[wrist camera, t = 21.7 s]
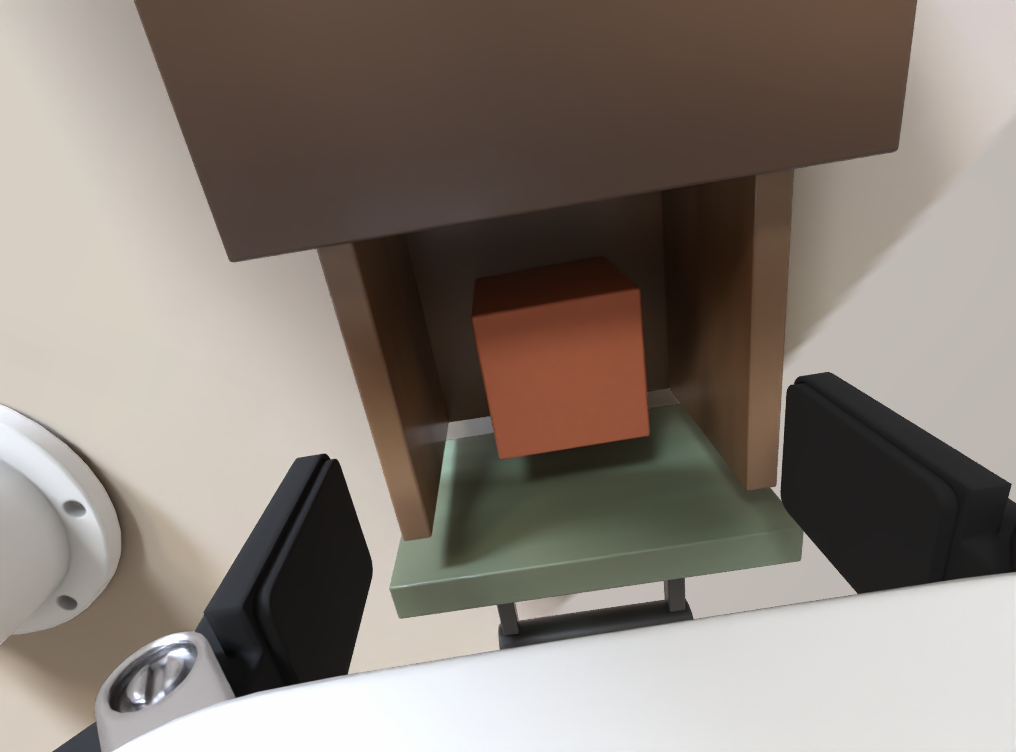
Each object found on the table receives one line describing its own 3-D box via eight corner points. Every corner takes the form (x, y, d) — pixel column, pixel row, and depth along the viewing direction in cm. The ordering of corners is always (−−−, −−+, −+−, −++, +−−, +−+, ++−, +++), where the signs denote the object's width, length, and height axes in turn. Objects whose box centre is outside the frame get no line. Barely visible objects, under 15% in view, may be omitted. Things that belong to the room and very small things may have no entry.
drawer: (700, 534, 24) (790, 698, 17) (454, 570, 24) (440, 746, 17) (693, 50, 16) (852, -27, 9) (336, 113, 17) (223, 85, 10)
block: (497, 396, 20) (499, 461, 16) (474, 278, 18) (469, 317, 14) (616, 376, 19) (650, 436, 15) (605, 255, 18) (641, 287, 14)
